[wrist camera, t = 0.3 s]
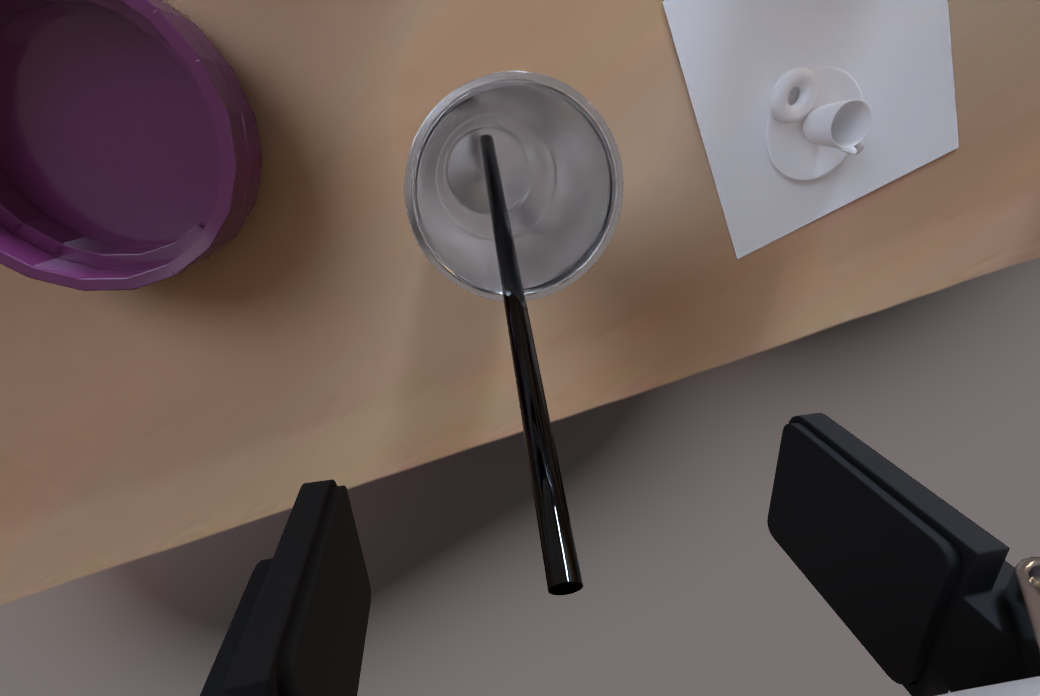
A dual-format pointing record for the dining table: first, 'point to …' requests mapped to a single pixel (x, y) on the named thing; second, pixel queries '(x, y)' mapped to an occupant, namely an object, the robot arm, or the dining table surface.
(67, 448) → the dining table surface
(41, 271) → the bowl
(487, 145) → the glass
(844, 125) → the teacup and saucer
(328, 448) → the dining table surface
